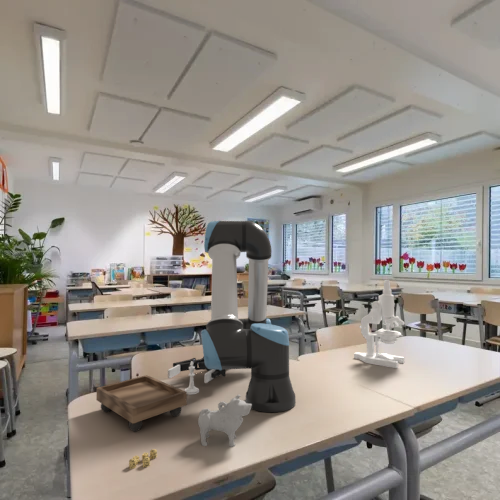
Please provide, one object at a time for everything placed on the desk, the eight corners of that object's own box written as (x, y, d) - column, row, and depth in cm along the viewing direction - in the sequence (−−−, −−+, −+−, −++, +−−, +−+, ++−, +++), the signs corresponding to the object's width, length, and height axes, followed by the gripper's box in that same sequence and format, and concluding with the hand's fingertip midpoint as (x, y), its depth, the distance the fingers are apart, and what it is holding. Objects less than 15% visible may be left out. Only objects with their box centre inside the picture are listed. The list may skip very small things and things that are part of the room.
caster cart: (186, 415, 97) (186, 391, 97) (132, 436, 86) (132, 409, 86) (146, 395, 112) (146, 375, 113) (96, 410, 101) (96, 387, 101)
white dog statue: (251, 447, 80) (251, 400, 80) (196, 446, 81) (196, 400, 81) (252, 436, 85) (252, 392, 86) (200, 435, 86) (200, 391, 86)
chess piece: (201, 390, 117) (201, 360, 117) (194, 395, 112) (194, 363, 113) (188, 388, 119) (188, 358, 119) (181, 393, 114) (181, 362, 114)
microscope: (376, 369, 138) (374, 281, 139) (351, 357, 157) (350, 279, 158) (415, 366, 142) (412, 280, 143) (386, 354, 161) (384, 278, 162)
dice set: (157, 457, 77) (157, 448, 77) (151, 471, 72) (151, 462, 72) (134, 458, 77) (134, 449, 77) (127, 472, 72) (127, 462, 72)
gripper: (246, 372, 128) (221, 392, 108) (186, 366, 137) (154, 383, 117) (246, 352, 128) (221, 368, 109) (186, 347, 137) (154, 361, 117)
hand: (186, 376), depth 113 cm, fingers open, 13 cm apart
